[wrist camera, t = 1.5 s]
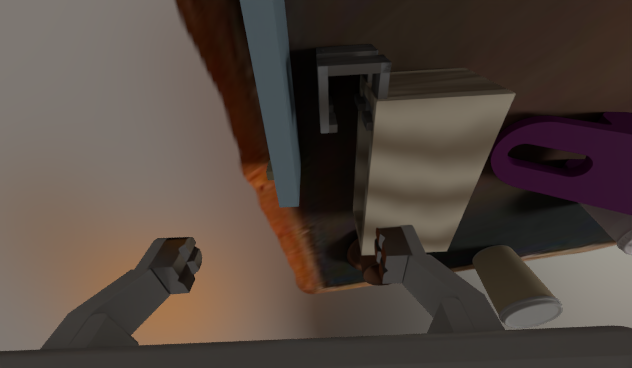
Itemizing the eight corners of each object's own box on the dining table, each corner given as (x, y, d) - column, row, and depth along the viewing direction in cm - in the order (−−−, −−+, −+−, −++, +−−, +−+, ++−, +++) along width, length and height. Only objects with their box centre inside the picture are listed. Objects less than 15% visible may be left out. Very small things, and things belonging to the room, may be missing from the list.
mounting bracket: (475, 151, 43) (613, 181, 37) (478, 178, 37) (645, 219, 31) (504, 93, 37) (674, 119, 31) (513, 114, 31) (728, 150, 25)
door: (236, -61, 22) (198, -88, 14) (283, -64, 22) (269, -93, 14) (276, 162, 36) (267, 207, 29) (304, 161, 36) (303, 206, 29)
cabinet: (315, 47, 27) (318, 68, 20) (473, 37, 27) (532, 55, 20) (323, 212, 42) (326, 257, 35) (423, 207, 42) (446, 251, 35)
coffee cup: (464, 272, 55) (497, 331, 45) (471, 246, 49) (510, 307, 40) (510, 266, 54) (553, 325, 44) (522, 238, 48) (575, 299, 38)
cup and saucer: (353, 222, 44) (359, 250, 40) (417, 227, 46) (430, 256, 41) (340, 262, 52) (343, 290, 47) (395, 265, 53) (404, 293, 48)
